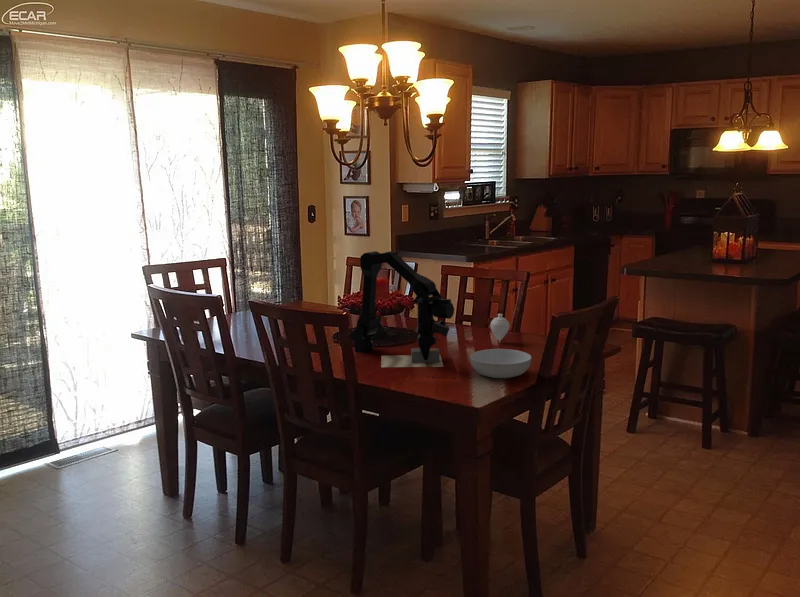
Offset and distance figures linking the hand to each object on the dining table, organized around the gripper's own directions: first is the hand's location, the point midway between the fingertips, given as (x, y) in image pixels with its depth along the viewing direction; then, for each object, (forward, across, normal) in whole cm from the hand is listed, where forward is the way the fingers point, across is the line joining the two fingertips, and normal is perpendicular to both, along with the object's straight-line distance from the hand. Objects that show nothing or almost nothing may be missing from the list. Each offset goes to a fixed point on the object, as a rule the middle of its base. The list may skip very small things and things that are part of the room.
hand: (425, 358), depth 262 cm
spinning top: (+3, +32, -32) cm, 45 cm away
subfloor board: (+2, 0, +5) cm, 6 cm away
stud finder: (+1, 0, 0) cm, 1 cm away
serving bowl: (+3, -14, -25) cm, 29 cm away
